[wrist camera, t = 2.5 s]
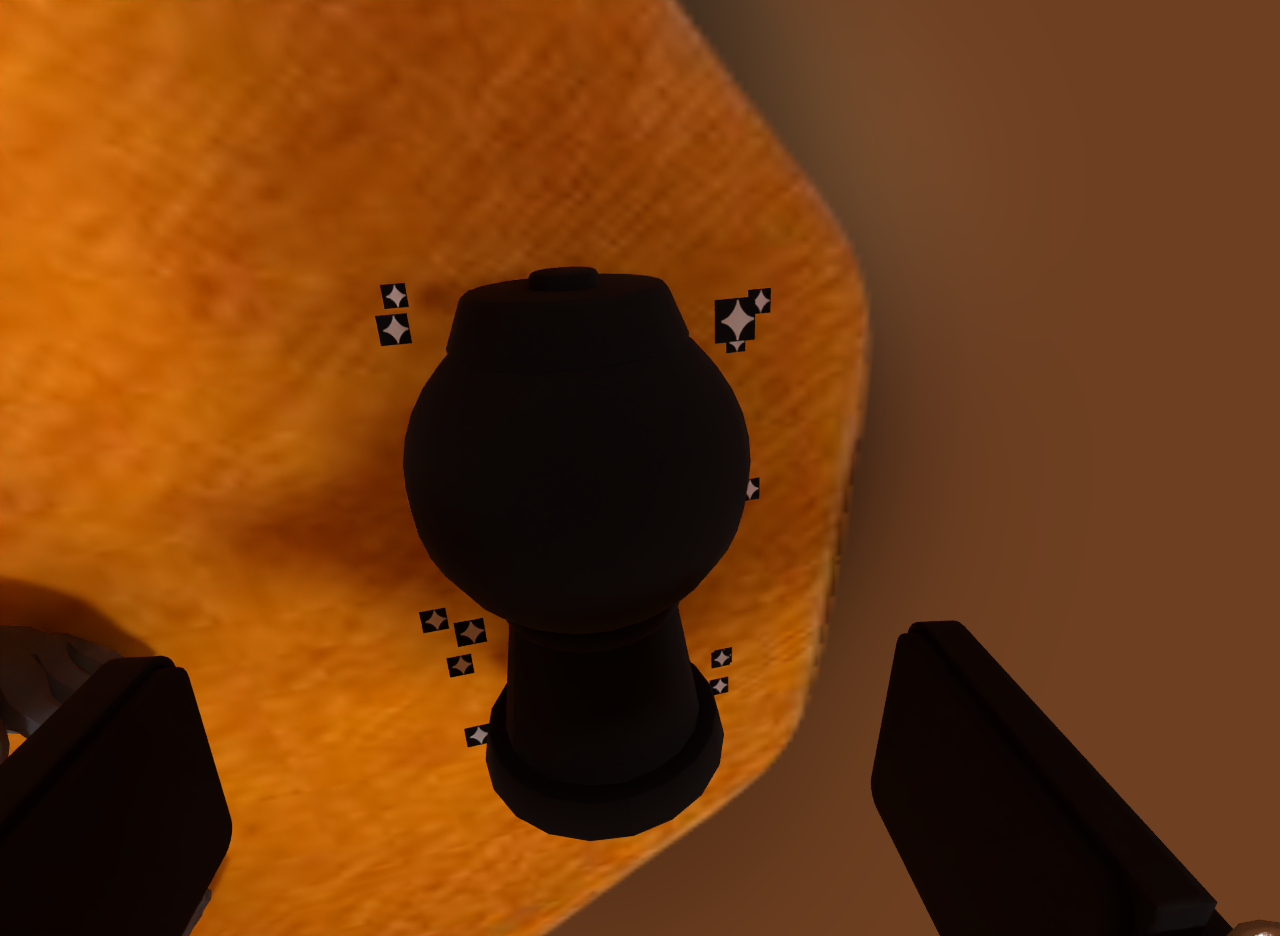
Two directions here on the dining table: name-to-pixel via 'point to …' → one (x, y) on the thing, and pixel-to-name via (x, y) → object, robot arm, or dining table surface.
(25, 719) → the yeti figurine
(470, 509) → the gumball machine
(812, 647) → the dining table surface
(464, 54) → the dining table surface
